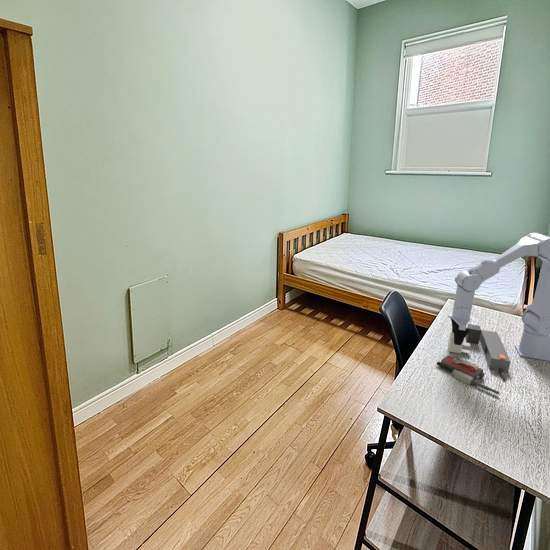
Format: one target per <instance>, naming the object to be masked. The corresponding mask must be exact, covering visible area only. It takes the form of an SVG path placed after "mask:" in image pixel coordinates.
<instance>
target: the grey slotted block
mask: <svg viewBox="0 0 550 550" xmlns="http://www.w3.org/2000/svg"><path fill="white" fill-rule="evenodd" d="M466 328H470V332H469V333H468V334H467V335H466V337H465V338H464V340H465V342H466V343H470V345H477V346H478V345H481V349H482V352H483V356H484V358H485V360H486V363H487V366H488V368H489V370H494V371H495V370H496V371H499V373H500V375H501V378H502V380H503V381H506V380H507V378H506V375H505V372H507V373H508V372H509V370H510V365H511V359H510V357H509V355H508V353H507V350H506V348H505V346H504V344H503V341H502V340H501V337H500V335H499V333H498V332H497V331H492V330H486V329H485V330H484V329H481V326H480V325H477V324H470V323H468V324H467V326H466ZM479 343H480V344H479Z"/></svg>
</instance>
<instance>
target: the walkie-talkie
mask: <svg viewBox="0 0 550 550" xmlns="http://www.w3.org/2000/svg"><path fill="white" fill-rule="evenodd" d="M436 365H437V366H438V367H440V368H441V369H443V370H445V371H447V372H449V373H451V374H452V375H453V376H454V377H455V379H456V380H459V381H461V382H463V383H465V384H467V385H469V386H470V385H471V384H472V385H474V386H477V387H479V388H481V389H483V390H485V391H490V392H492V393H494V394H496V395H500V392H499V391H497V390H496V389H493V388H491V387H489V386H486V385H485V384H482V383H480V382H478V380H480V379H484V377H485V372H484V369H483V368H480V367H479V366H478V365H477V364H476V363H471V361H469V360H466V359H465V360H462V359H459V358H458V357H454V356H453V355H449V354H448V355H446V356H445V357H443V358H441V359H440V361H436Z"/></svg>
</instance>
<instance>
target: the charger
mask: <svg viewBox="0 0 550 550" xmlns="http://www.w3.org/2000/svg"><path fill="white" fill-rule="evenodd" d="M464 340H465V339H464ZM464 340H463V342H462V344H461V345H455V344H454V332H452V331H450V333H449V339H448V342H447V348H448V352H449V353H450V352H451V353H455V354H462V351H463V350H464V351H465V350H466V351H471V350H470V349H471V343H467V342H466V341H464Z"/></svg>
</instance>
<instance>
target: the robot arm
mask: <svg viewBox="0 0 550 550" xmlns="http://www.w3.org/2000/svg"><path fill="white" fill-rule="evenodd" d="M525 256H526V257H538V258H539V259H540V260H541V261H542V264H541V267H540V273H539V277H538V280H537V284H536V287H535V288H536V289H535V292H534V297H533V300H532V303H531V304H528V305H527V306H526V308H525V311H524V312H523V313H522V315H521V321H522V323H523V330H522V334H521V337H520V341H519V344H515V345H514V347H515V349H516V351H517V352H518V354H519V357H525V358H531V359H534V360H535V359H536V360H542V361H548V362H550V236H549V235H544V234H541V233H539V232H530V233H529V234H527V235H526V236H523V237H522V238H520V240H519V241H518V242H517V243H516V244H515V245H513V246H511V247H510V248H508V249H507V250H505V251H504V252H502V253H501V254H499V255H498V256H496V257H495V258H494V259H493V258H492V259H491V258H486V259H482V260H481V261H480V263H478V264H476V265H475V266H473V267H472V268H469V269H468V270H466V271H465V270H463V271H461V272H459V273H458V274H457V275H456V277H454V282H455V284H456V285H457V286H456V290H455V291H456V292H455V297H454V301H453V308H452V312H451V313H448V314H447V318H449V319H450V321H451V332H454V344H455V345H461V344H462V342H464V341H463V340H465V337H466V335H467V334H468V333H469V332H470V328H467V326H468V324H469V323H470V322H471V314H472V310H473V304H474V299H475V295H476V294H475V293H476V291H477V290H478V289H479V288H480V287H481V285H482V284H483V283H484V282H485V281H487V280H489V279H490V278H492V277H494V276H496V275H497V274H499V273H500V269H501V268H503V267H505V266H507V265H509V264H510V263H512V262H514V261H516V260H518V259H520V258H522V257H525Z"/></svg>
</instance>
